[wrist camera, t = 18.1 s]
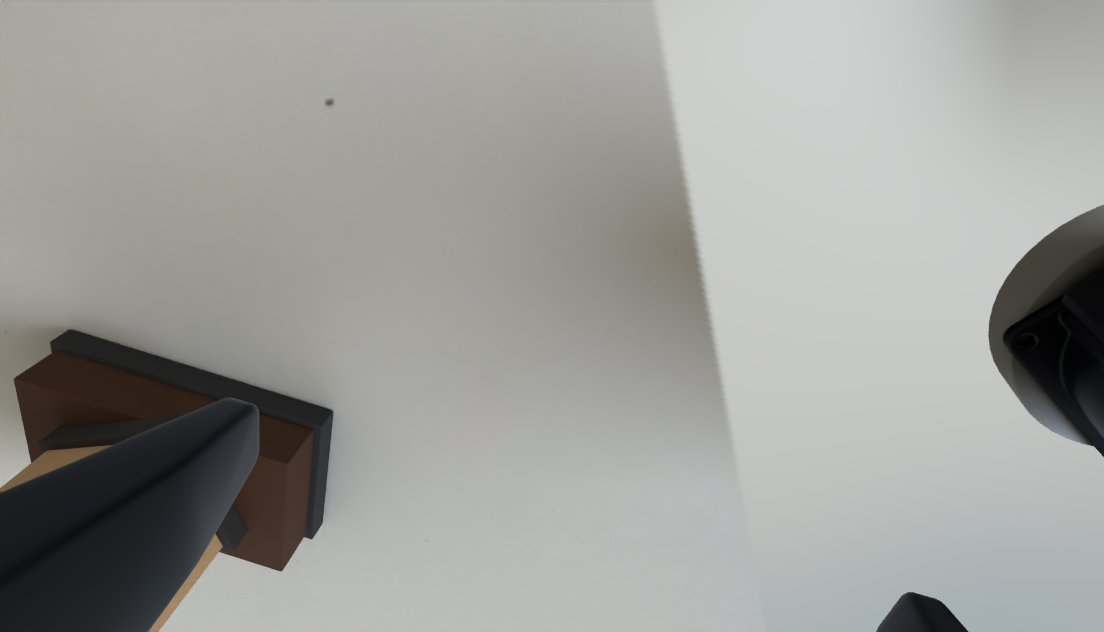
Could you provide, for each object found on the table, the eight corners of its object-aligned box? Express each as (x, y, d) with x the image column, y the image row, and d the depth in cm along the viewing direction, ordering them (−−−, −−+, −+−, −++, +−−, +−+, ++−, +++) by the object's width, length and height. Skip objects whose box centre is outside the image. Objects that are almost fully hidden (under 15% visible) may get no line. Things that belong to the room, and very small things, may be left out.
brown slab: (333, 410, 27) (296, 461, 24) (323, 522, 30) (288, 578, 27) (69, 328, 27) (3, 370, 24) (87, 448, 30) (31, 497, 28)
